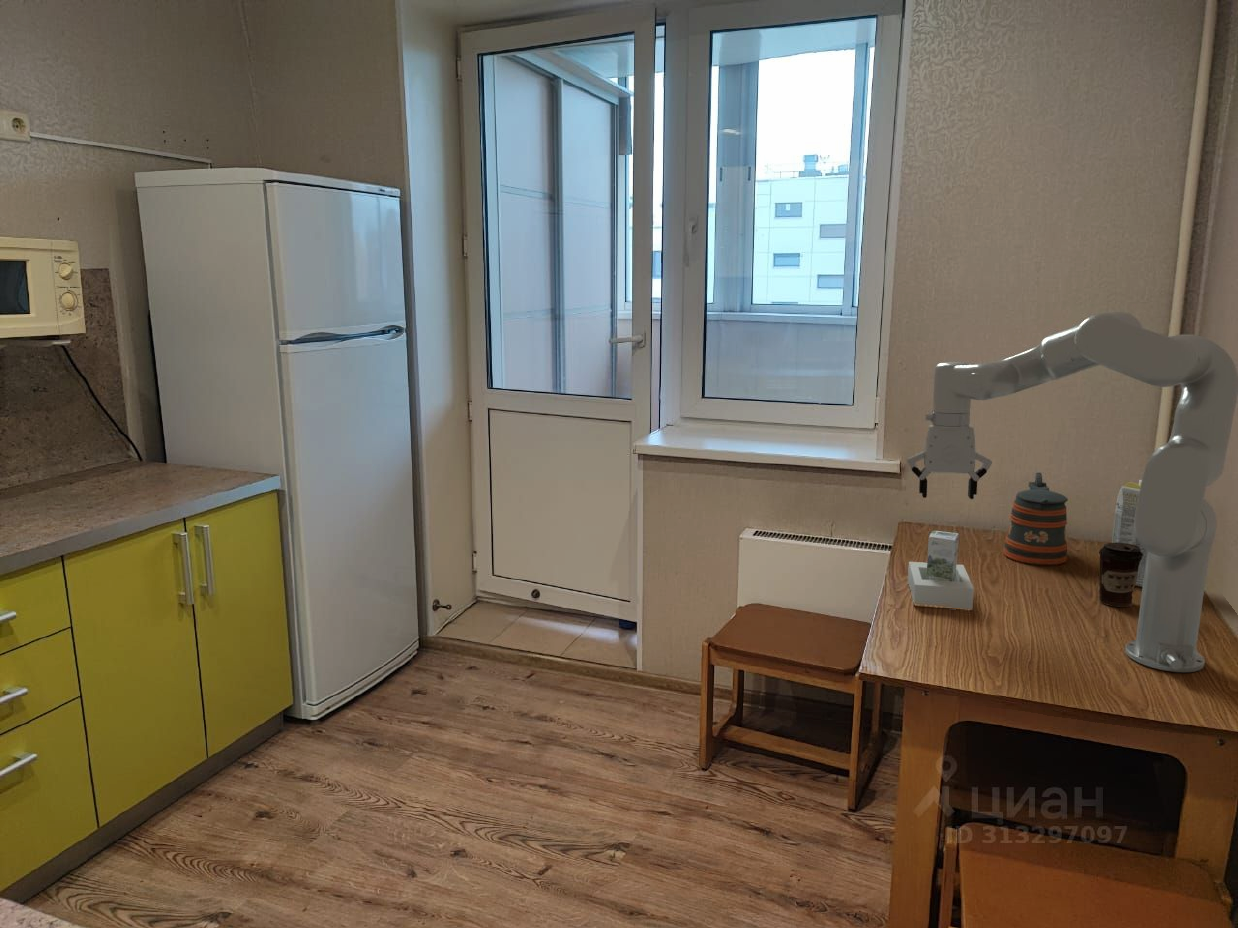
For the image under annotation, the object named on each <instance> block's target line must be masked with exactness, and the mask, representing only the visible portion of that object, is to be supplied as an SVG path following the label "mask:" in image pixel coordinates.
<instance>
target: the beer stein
mask: <svg viewBox="0 0 1238 928" xmlns="http://www.w3.org/2000/svg"><path fill="white" fill-rule="evenodd" d="M1028 487H1029V489H1026V490H1021V491H1019V492H1017V493H1016V495H1015V499H1014V500H1013V502H1012V508H1011V512H1010V516H1009V519H1010V525H1009V529H1008V533H1007V534H1006V536H1005V542H1004V547H1003V549H1002V551H1003V554H1004V555H1005V556H1006V557H1007V558H1008V559H1009V560H1012V561H1015V562H1018V563H1022V564H1026V565H1034V566H1057V565H1061V564H1064V563H1066V561H1067V560H1068V542H1067V538H1066V532H1067V531H1066V526H1067V524H1068V521H1067V520H1068V519H1067V506H1066V502H1068V500H1069V499H1068V498H1067V497H1066V496H1065V495H1063V494H1061V493H1059V492H1055V491H1052V490H1050V488H1049V487H1048V485H1047V483H1046V482H1043V475H1042V472H1036V473H1035V477H1034V481H1028Z"/></svg>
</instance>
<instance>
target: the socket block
mask: <svg viewBox="0 0 1238 928" xmlns="http://www.w3.org/2000/svg"><path fill="white" fill-rule="evenodd" d="M907 568H908V571H907V585H908V584H909V585H908V588H909V587H910V589H909V591H910V590H911V593H910V595H911V594H912V598H913V602H914V604H924V605H925V604H926V605H936V606H944V607H951V608H962V609H972V610H973V607H974V606H973V605H974V604H973V603H974V596H975V594H974V593H975V588H974V585H973V583H972V580H971V578H970V577H969V574H968V572H967V570H966V568H965V566H964V564H957V566H956V579H955V582H953V581H937V580H926V572H927V562H922V561H921V562H920V561H918V562H917V561H908V567H907ZM912 598H911V599H912ZM913 602H912V603H913Z"/></svg>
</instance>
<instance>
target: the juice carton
mask: <svg viewBox="0 0 1238 928" xmlns="http://www.w3.org/2000/svg"><path fill="white" fill-rule="evenodd" d="M1141 483H1142V479H1139V481H1138V483H1136V482H1130V481H1127V482H1126V484H1124V485H1121V487H1120V489H1119V491H1118V494H1117V499H1116V502H1115V503H1116V505H1115V513H1114V520H1113V529H1112V539H1111V543H1116V542H1118V543H1128V544H1132V545H1136V546H1138V547H1139V548H1140V551H1141V552H1142V554H1143V556H1142V559H1141V561H1140V564H1139V568H1138V575H1137V581H1136V584H1135V586H1136V587H1143V579H1144V571H1145V564H1146V558H1147V553H1148V551H1147V550H1145V549H1144V548H1143V547H1142V546H1141V545H1140V544H1139V542H1138V540H1137V538H1136V536H1135V532H1134V519H1135V513H1136V508H1137V503H1138V498H1139V493H1140V488H1141Z"/></svg>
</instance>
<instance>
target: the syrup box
mask: <svg viewBox="0 0 1238 928" xmlns="http://www.w3.org/2000/svg"><path fill="white" fill-rule="evenodd" d="M959 534H960V533H958V532H957V533H956V532H949V531H940V530H931V532H930V534H929V536H928V541H927V542H928V543H927V544H928V548H927V558H926V560H927V561H926V563H927V572H926V580H937V581H953V582H955V579H956V566H957V565H958V564H957V563H958V562H957V561H958V552H959V541H960V535H959Z"/></svg>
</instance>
